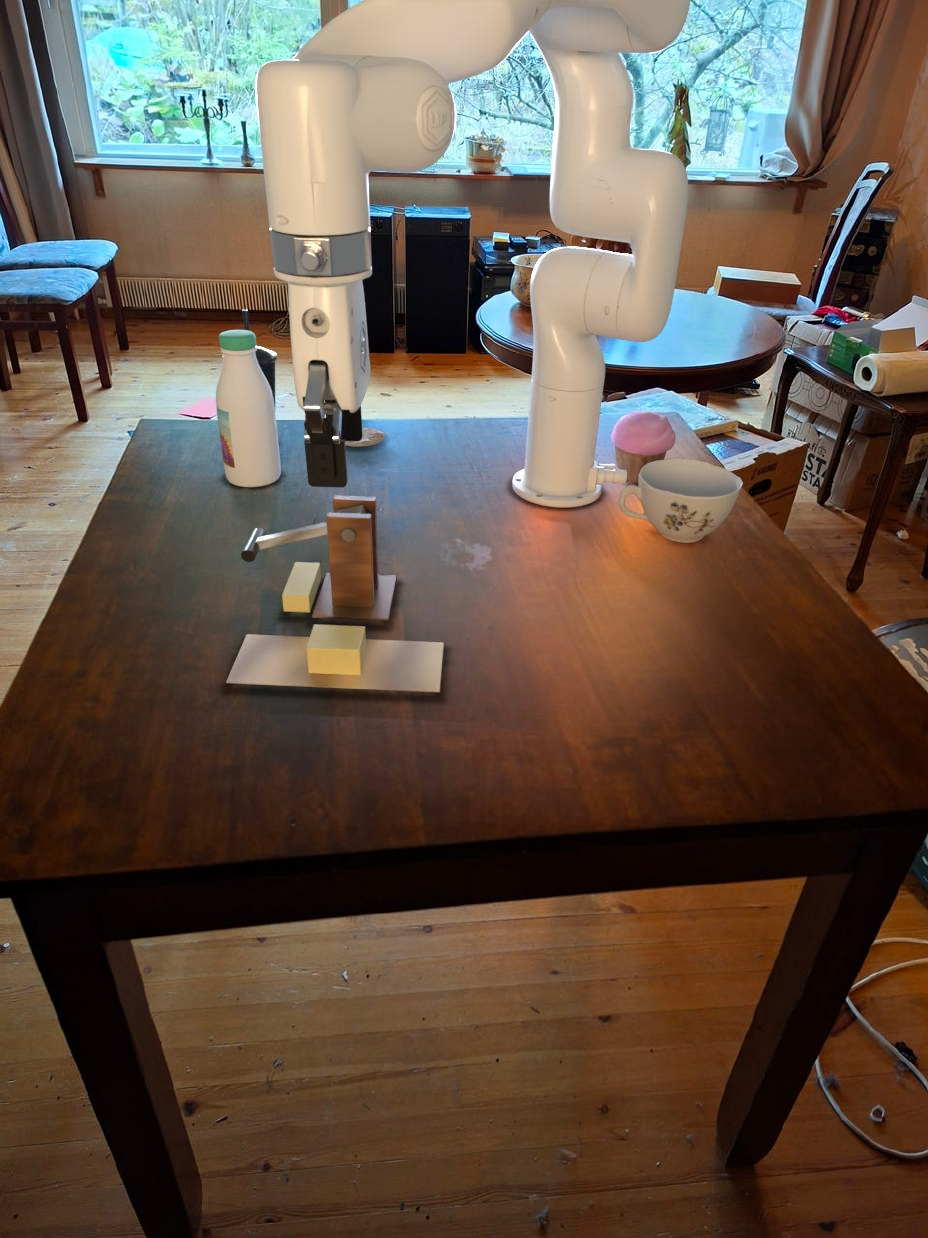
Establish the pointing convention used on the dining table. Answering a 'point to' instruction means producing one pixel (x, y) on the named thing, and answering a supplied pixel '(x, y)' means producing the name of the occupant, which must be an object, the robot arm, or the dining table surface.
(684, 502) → the teacup
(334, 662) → the butter pat
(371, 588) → the wooden stand
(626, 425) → the cupcake
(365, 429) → the flatbread
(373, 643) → the serving board
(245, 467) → the milk bottle
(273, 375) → the drinking cup
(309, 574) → the butter stick
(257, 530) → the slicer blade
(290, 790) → the dining table surface
